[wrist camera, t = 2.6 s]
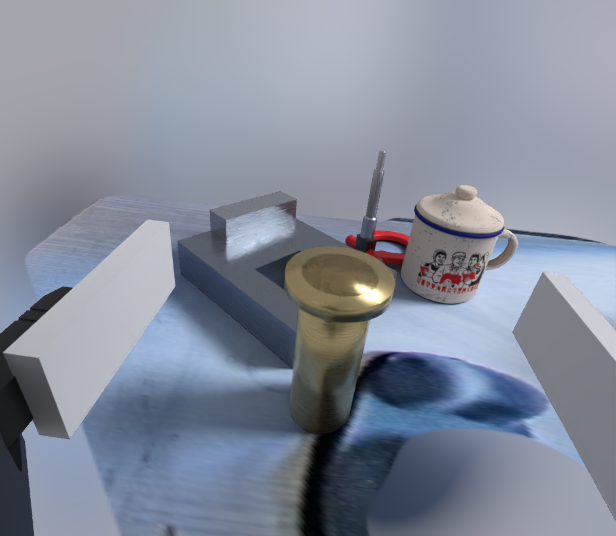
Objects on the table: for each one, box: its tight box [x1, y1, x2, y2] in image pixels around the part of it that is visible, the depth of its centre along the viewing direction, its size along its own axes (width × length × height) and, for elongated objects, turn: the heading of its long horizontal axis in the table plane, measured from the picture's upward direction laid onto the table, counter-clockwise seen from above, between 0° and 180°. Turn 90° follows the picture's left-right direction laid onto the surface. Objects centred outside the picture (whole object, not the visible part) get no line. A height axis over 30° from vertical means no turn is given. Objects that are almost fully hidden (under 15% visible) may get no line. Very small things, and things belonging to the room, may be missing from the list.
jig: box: [178, 191, 398, 368], centre depth 39 cm, size 18×14×6 cm
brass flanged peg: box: [284, 246, 395, 434], centre depth 25 cm, size 6×6×12 cm
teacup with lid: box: [401, 185, 518, 304], centre depth 42 cm, size 12×9×12 cm
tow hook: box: [345, 151, 409, 264], centre depth 47 cm, size 8×13×9 cm
